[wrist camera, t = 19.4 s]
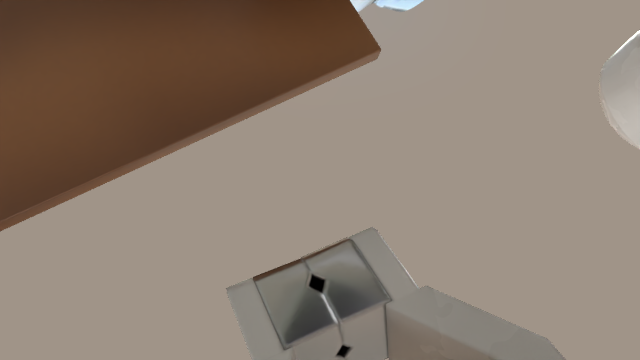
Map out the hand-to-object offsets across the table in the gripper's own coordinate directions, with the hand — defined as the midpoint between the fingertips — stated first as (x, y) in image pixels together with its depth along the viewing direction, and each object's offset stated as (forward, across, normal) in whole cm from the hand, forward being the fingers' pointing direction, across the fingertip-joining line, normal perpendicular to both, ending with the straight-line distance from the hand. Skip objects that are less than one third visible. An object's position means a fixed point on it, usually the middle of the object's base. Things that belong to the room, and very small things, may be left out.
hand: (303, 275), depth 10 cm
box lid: (+17, +1, +1) cm, 17 cm away
